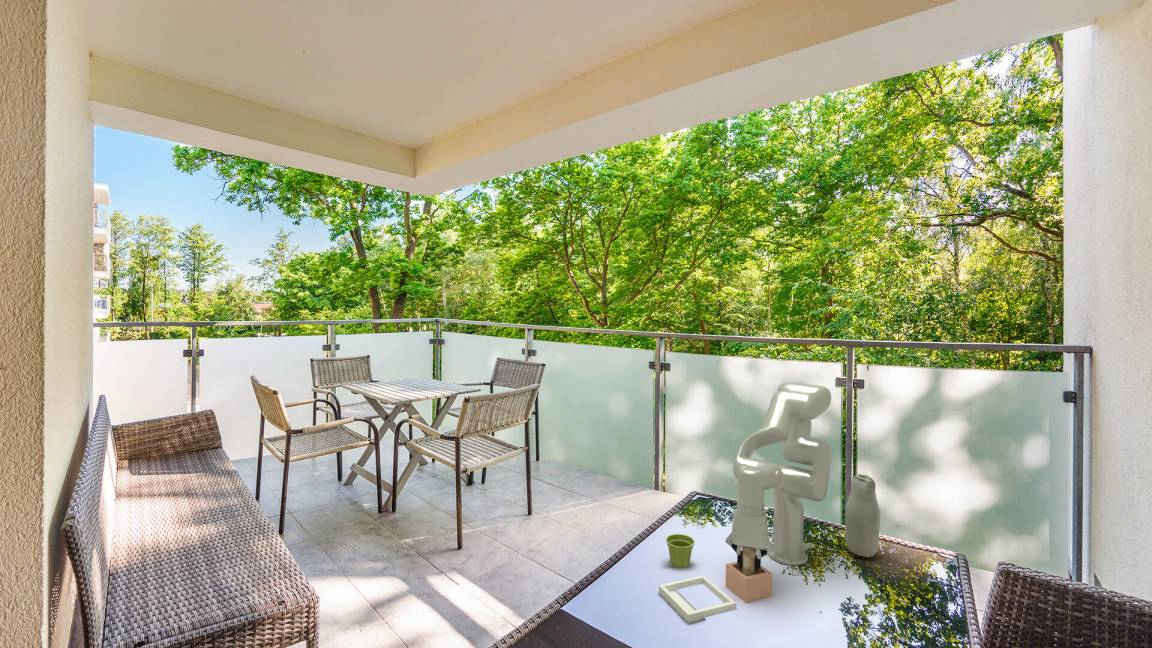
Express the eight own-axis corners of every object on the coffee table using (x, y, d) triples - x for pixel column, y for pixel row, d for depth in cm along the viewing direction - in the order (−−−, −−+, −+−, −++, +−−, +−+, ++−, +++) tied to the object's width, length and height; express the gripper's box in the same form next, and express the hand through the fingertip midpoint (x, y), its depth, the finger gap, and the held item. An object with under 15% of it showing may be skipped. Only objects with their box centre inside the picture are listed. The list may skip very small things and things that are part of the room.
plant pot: (694, 574, 172) (695, 548, 171) (665, 571, 173) (665, 545, 173) (694, 560, 181) (694, 535, 180) (666, 557, 183) (666, 532, 182)
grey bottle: (883, 556, 184) (886, 476, 182) (867, 564, 178) (870, 482, 176) (854, 545, 192) (857, 469, 190) (839, 553, 186) (841, 474, 184)
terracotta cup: (750, 583, 166) (751, 558, 166) (771, 599, 157) (772, 573, 157) (725, 589, 163) (725, 563, 162) (745, 606, 154) (746, 579, 154)
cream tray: (703, 583, 166) (703, 575, 166) (736, 611, 151) (736, 603, 151) (658, 593, 160) (658, 585, 160) (688, 624, 146) (688, 615, 145)
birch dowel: (749, 586, 163) (750, 541, 162) (758, 593, 159) (759, 547, 158) (738, 588, 161) (739, 543, 161) (747, 595, 158) (748, 549, 157)
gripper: (780, 508, 159) (779, 568, 160) (723, 499, 166) (722, 556, 167) (779, 518, 152) (777, 580, 153) (719, 508, 159) (718, 568, 160)
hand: (748, 567), depth 160 cm, fingers closed on birch dowel, 4 cm apart
